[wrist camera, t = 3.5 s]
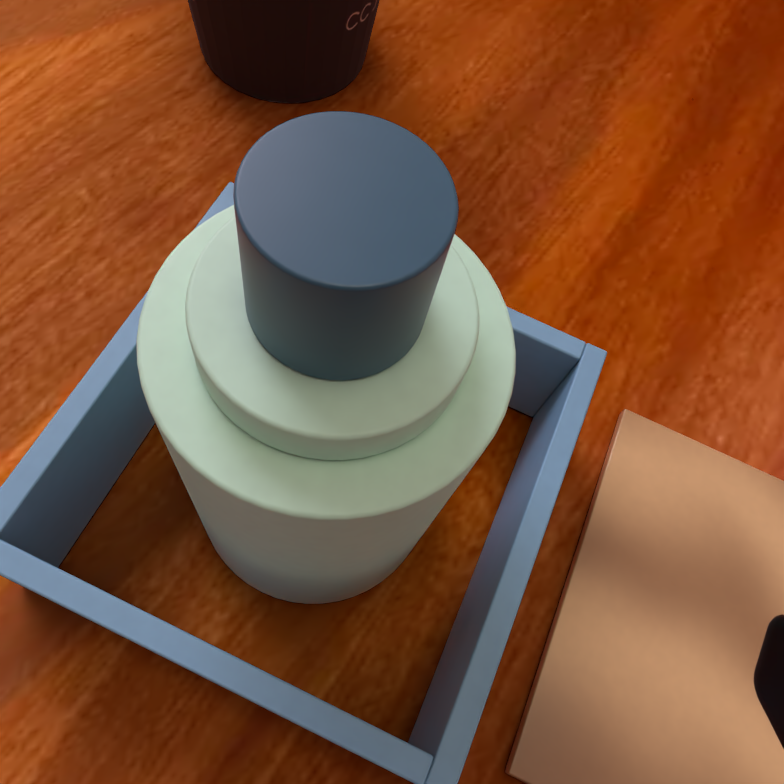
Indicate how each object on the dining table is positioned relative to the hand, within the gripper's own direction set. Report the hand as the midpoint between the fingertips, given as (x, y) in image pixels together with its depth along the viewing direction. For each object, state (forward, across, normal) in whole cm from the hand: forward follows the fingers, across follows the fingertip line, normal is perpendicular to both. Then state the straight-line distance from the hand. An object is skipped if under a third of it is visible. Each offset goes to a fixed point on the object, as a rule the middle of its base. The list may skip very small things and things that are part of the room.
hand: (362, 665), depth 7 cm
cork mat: (+8, -12, +8) cm, 17 cm away
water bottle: (+12, 0, +4) cm, 13 cm away
